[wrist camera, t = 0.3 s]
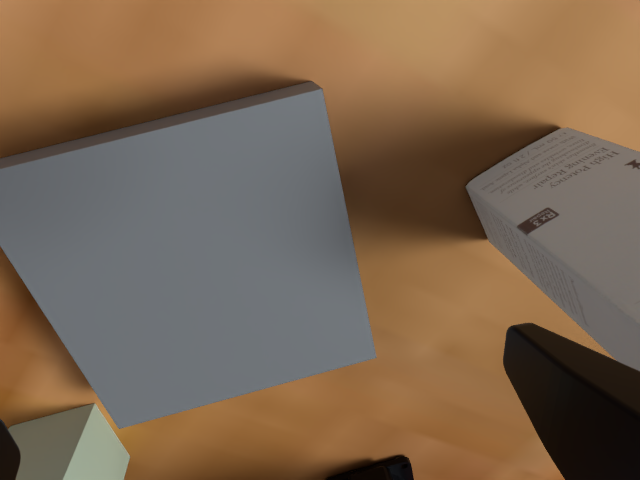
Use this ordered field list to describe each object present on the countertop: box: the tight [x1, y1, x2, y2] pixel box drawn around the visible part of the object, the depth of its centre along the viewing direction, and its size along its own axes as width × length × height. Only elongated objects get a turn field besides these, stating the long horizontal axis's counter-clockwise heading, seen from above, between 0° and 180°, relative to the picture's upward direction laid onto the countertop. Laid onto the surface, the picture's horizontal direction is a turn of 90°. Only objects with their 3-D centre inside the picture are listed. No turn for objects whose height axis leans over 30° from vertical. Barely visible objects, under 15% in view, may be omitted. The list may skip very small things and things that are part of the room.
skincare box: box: [466, 128, 640, 371], centre depth 18 cm, size 6×4×12 cm
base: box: [0, 81, 376, 429], centre depth 20 cm, size 14×14×3 cm
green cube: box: [8, 403, 130, 480], centre depth 24 cm, size 5×5×5 cm
